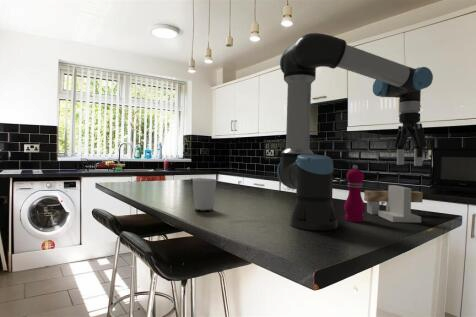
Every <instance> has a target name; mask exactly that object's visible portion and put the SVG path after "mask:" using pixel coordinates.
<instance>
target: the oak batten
mask: <svg viewBox="0 0 476 317" xmlns="http://www.w3.org/2000/svg"><path fill="white" fill-rule="evenodd" d="M363 192H364V194H363V195H364V196H363V197H364V198H363V201H366V202H367V201H368V202H380V203H382V202H383V203H386V202H388V190H364V191H363ZM423 196H424V195H423V192H422V191H412V190H411V203H423Z"/></svg>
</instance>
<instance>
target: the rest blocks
mask: <svg viewBox="0 0 476 317" xmlns="http://www.w3.org/2000/svg"><path fill="white" fill-rule="evenodd" d="M380 203H381V202H368V201H366V213H368V214H370V215H378V211H380V207H381V206H380ZM385 204H386V205H385V207H386V208H385V211H388V202H385Z"/></svg>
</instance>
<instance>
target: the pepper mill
mask: <svg viewBox="0 0 476 317" xmlns="http://www.w3.org/2000/svg"><path fill="white" fill-rule="evenodd" d="M358 168H359V167H358V165H356V164H354V165H353V166H352V169H350V170H348V172H346V174H345V175H346V176H345V178H346V180H347V181H348V182H347V188H348V196H347V198H346V200H345V202H344V204H343V210H344V211H345V215H344V220H345V221H347V222H352V223H361V222H364V215H363V214H365V211H366V205H365V202H364V199H363V198H362V188H363V183H362V182H363V181H364V179H365V175H364V172H363V171H362V170H360V169H358Z"/></svg>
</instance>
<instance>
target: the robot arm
mask: <svg viewBox="0 0 476 317" xmlns="http://www.w3.org/2000/svg"><path fill="white" fill-rule="evenodd" d="M279 66H280V70H281V72H282V73H283V81H284V82H285V83H286V84H287V95H286V96H287V97H286V99H287V101H286V102H287V103H286V110H287V111H286V130H285V131H286V133H285V134H286V136H285V138H286V141H285V149H284V150H283V151H281V161H280V162H279V164H278V165H277V168H276V173H277V178H278V180H279V181H280V183H281V184H283V186H285V187H287V188H288V189H291V190H295V191H296V192H295V203H294V205H293V206H294V207H293V210H292V212H291V215H290V221H289V222H290V225H291V226H292V227H294V228H297V229H301V230H307V231H309V230H310V231H330V230H331V231H332V230H335V229H338V218H337V215H336V212H335V208H334V204H333V187H334V186H333V182H334V178H333V177H334V163H333V162H334V161H333V159H332V157H329V156H328V155H321V154H315V153H314V152H313V151H312V150H311V149H310V148H311V147H310V138H311V137H310V136H311V103H312V84H313V82H315V81H316V77H317V76H316V73H317V71H316V70H317V68H321V67H322V68H323V67H325V68H330V69H333V70H334V69H336V68H340V69H343V70H346V71H348V72H351V73H355V74H359V75H360V76H364V77H367V78H369V79H373V80H374V81H373V84H372V93H373V94H374V95H375V96H376V97H380V98H395V99H396V98H398V99H399V103H398V105H399V107H398V108H399V109H398V110H399V111H398V113H399V120H398V122H399V123H400V124H402V125H398V127H397V134H396V138H395V142H394V146H393V147H394V149H396V165H399V166H401V165H402V166H404V165H405V146H406V143H407V140H408V139H409V138H411V140H412V142H413V145H414V148H413V151H414V152H413V155H414V157H413V160H414V161H413V163H414V164H413V166H415V167H423V150H424V148H426V147H427V141H426V137H425V134H424V130H423V123H420V122H421V113H420V112H421V107H422V105H421V98H422V97H421V96H422V95H421V90H424V89H427V88H429V87H430V86H431V85H432V83H433V79H434V74H433V72H432V70H431V69H430V68H428V67H427V66H420V67H417V68H414V67H412V66H411V67H410V66H408V65H404V64H401V63H399V62H397V61H394V60H392V59H391V60H390V59H388V58H385V57H382V56H380V55H377V54H375V53H372V52H368V51H365V50H362V49H360V48H357V47H354V46H351V45H349V44H347V42H346V40H345V39H342V38H339V37H338V36H337V37H336V36H333V35H329V34H325V33H319V32H313V33H306V34H305V35H302V36H301V37H299V39H297V40H296V41H295V42H294V43H292V44H291V45H290V46H288V47H287V48H286V49H285V50H284V51H283V53H282V54H281V56H280V62H279Z"/></svg>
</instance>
